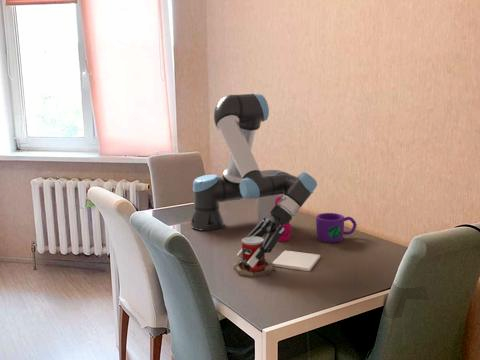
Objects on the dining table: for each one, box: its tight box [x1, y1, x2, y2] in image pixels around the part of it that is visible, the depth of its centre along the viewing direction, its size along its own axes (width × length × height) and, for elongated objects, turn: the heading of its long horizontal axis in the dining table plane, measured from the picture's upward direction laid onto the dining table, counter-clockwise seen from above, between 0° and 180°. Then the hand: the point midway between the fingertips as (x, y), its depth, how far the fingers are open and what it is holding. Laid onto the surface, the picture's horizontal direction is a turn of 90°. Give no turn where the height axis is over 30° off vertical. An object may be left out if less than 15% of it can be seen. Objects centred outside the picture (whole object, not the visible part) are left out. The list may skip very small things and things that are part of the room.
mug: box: [315, 212, 358, 244], centre depth 195 cm, size 17×11×10 cm, turn 101°
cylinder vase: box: [256, 169, 285, 225], centre depth 214 cm, size 12×12×25 cm
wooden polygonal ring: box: [233, 258, 275, 278], centre depth 167 cm, size 13×13×2 cm
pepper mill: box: [275, 194, 292, 242], centre depth 195 cm, size 7×7×20 cm
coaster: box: [272, 250, 321, 272], centre depth 172 cm, size 14×14×1 cm
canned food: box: [241, 236, 266, 271], centre depth 166 cm, size 8×8×11 cm
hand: (244, 261), depth 165 cm, fingers closed on canned food, 8 cm apart
